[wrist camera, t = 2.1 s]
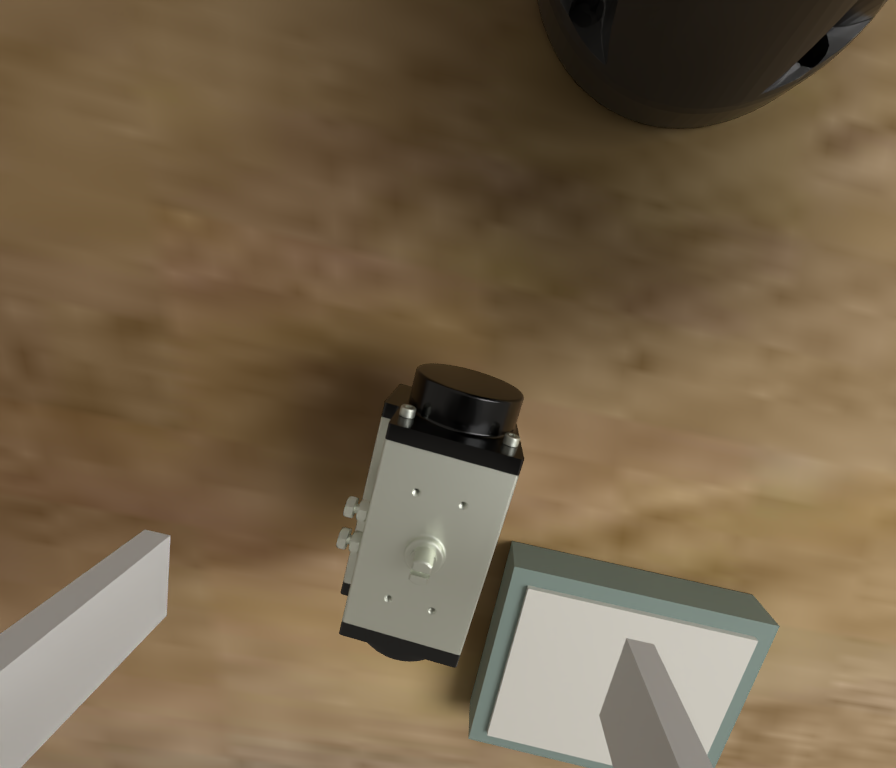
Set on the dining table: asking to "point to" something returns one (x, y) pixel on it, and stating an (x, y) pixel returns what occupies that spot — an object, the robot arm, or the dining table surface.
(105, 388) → the dining table surface
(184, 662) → the dining table surface
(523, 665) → the stand
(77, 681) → the robot arm
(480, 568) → the pneumatic valve
